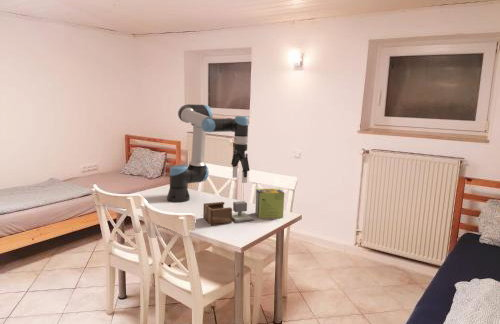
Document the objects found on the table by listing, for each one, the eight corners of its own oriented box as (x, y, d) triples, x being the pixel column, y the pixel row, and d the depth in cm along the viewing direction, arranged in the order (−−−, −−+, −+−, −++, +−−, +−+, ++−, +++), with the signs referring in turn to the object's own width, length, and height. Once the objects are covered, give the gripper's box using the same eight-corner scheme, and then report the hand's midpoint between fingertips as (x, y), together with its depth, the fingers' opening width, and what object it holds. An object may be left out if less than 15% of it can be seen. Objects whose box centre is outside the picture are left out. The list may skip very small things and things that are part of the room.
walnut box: (203, 217, 205) (203, 203, 204) (222, 215, 210) (223, 201, 209) (211, 225, 193) (211, 210, 191) (231, 223, 198) (232, 208, 196)
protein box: (283, 217, 211) (284, 192, 208) (258, 218, 208) (259, 192, 206) (279, 212, 221) (280, 188, 219) (255, 212, 219) (256, 188, 216)
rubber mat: (225, 215, 212) (225, 214, 212) (243, 213, 217) (243, 212, 217) (235, 223, 198) (235, 222, 198) (254, 220, 203) (254, 220, 203)
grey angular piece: (228, 215, 210) (228, 200, 209) (243, 213, 215) (243, 199, 213) (235, 221, 200) (236, 205, 199) (251, 219, 205) (252, 204, 203)
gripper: (226, 141, 210) (225, 175, 214) (243, 146, 188) (242, 185, 191) (238, 140, 213) (236, 175, 217) (256, 146, 191) (254, 184, 195)
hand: (239, 180), depth 204 cm, fingers open, 13 cm apart
